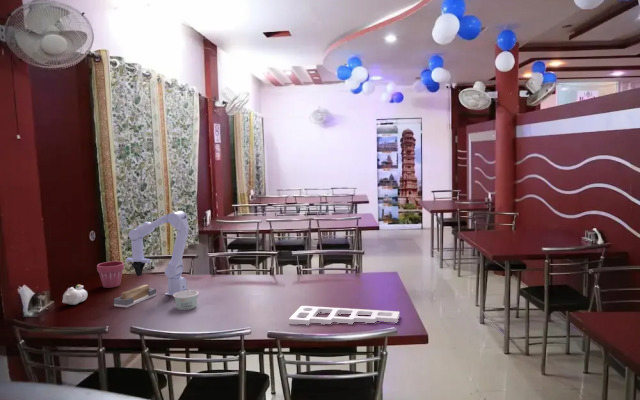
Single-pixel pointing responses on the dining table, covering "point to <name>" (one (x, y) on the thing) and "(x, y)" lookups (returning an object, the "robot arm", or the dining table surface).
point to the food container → (186, 299)
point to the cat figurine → (74, 295)
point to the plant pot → (110, 273)
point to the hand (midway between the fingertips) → (139, 275)
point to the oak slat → (136, 292)
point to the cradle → (129, 301)
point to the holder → (312, 311)
